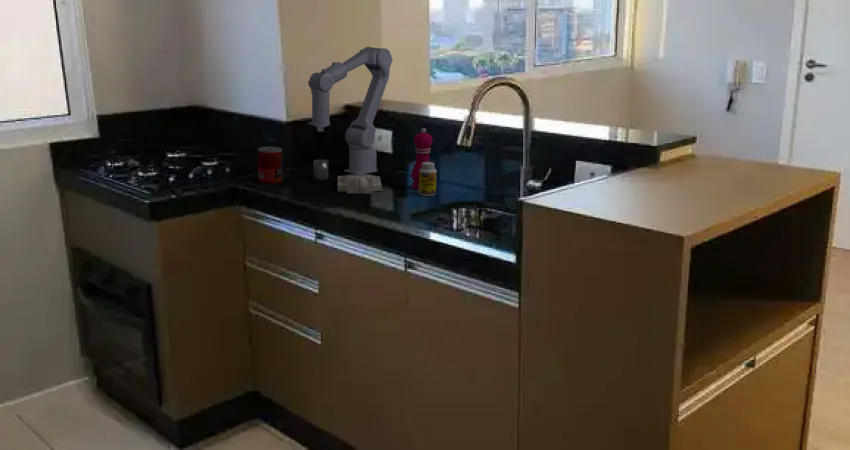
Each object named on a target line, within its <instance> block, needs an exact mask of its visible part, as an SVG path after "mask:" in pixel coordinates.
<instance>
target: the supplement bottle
mask: <svg viewBox="0 0 850 450" xmlns="http://www.w3.org/2000/svg"><path fill="white" fill-rule="evenodd" d="M437 173H438V172H437V169H436V168H435V163H434V162H431V161H429V162H423V163H422V168H421V169H420V170H419V190H418V195H420V196H423V197H433V196H435V195H436V194H437Z"/></svg>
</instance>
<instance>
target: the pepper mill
mask: <svg viewBox="0 0 850 450" xmlns="http://www.w3.org/2000/svg"><path fill="white" fill-rule="evenodd" d="M413 143H414V145H415V150H414V153H416V160H415V162H414V165H413V168H412V169H411V172H410V174H411V175H410V178H411V179H412V180H413V182H412V183H411V184H412V187H411V188H412V189H413V190H414V189H415V191H419V170H420V169H421V168H422V163H423V162H430V154H431V146H432V144H433V137H432V135H430V134H429V133H427V128H425V127H422V128H421V129H420V132H419V133H417V134H415V136H414V138H413Z"/></svg>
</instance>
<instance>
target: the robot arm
mask: <svg viewBox="0 0 850 450" xmlns="http://www.w3.org/2000/svg"><path fill="white" fill-rule="evenodd" d="M393 61H394V59H393V56H392V53H391V51H390V50H389V49H388V48H385V47H384V48H382V47H381V48H379V47H371V46H365V47H364V48H362V49H360V50H359V51H358V52H357V53H355V54H354V55H352V56H351V57H349V58H347V60H345V61H344V62H339V61H333V62H331V65H330V66H328V67H326V68H322V69H321V71H320V72H314V73H312V74H311V75H310V77H309V80H308V81H307V83H308V86H309V88H310V92H311V99H312V100H311V111H312V112H311V113H312V114H311V117H312V120H311V121H308V125H309V126H311V125H312V126H313V127H312V129H313V130H311V133H312V135H313V139H314V141H315V142H314V143H315V146H316V151H317V152H319V153H320V152H321V153H322V152H324V151H325V147H326V141H327V138H328V135H329V133H330V131H329V130H330V125H331V122H330V91H331V90H332V89H333V87H334V85H335V84H336V83H338V82H340V81H342V80H344V79H346V78H347V77H348V72H351V71H353V70H354V69H356V68H359V67H360V66H363V65H364V66H365V67H366V68H367V70H368V71H369V73H370V74H371V77H372V78H371V80H370V83H369V86H368V89H367V91H366V94H365V97H364V99H363V103H362V105H361V107H360V111H359V114H358V117H356V119H354V120H353V121H352V122H351V123H350V126H349V127H348V129H346V131H345V132H344V133H345V135H344V139H345V141H346V143H347V144H348V147H349V159H348V160H349V161H348V163H349V165H348V166H349V167H348V169H344V170H343V172H346V173H350V174H370V173H376V172H378V169H377V151H376V148H375V147H374V146H373V144H374V143H375V137H376V135H375V134H376V131H377V128H375V126H374V124H373V123H374V120H375V118H376V116H377V115H376V114H377V112H378V110H379V106H380V104H381V101H382V98H383V95H384V92H385V89H386V87H387V83H388V81H389V78H390V68H391V65H392V62H393Z"/></svg>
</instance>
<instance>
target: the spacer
mask: <svg viewBox="0 0 850 450" xmlns="http://www.w3.org/2000/svg"><path fill="white" fill-rule="evenodd" d="M313 179H314V180H317V181H318V180H320V181H324V180H328V179H329V160H328V159H314V160H313Z"/></svg>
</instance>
